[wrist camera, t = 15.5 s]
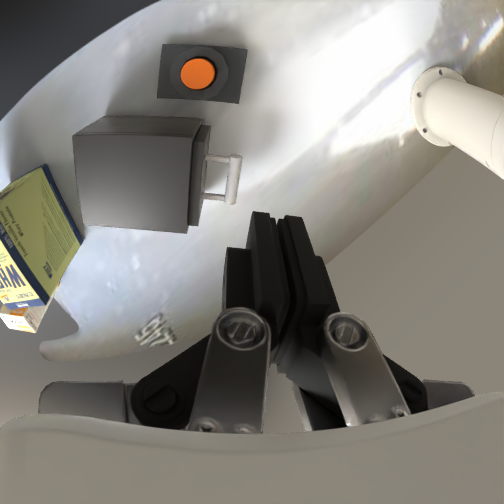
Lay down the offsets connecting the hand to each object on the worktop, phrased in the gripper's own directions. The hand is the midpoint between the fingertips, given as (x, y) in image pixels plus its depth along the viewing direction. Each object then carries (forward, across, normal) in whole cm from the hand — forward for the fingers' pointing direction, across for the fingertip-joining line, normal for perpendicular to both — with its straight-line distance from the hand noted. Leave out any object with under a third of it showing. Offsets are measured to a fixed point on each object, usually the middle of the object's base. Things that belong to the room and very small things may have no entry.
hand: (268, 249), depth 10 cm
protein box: (+29, +32, +18) cm, 47 cm away
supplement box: (+29, +38, +34) cm, 59 cm away
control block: (+29, +6, -4) cm, 30 cm away
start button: (+26, +6, -4) cm, 27 cm away
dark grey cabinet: (+29, +12, +8) cm, 32 cm away
